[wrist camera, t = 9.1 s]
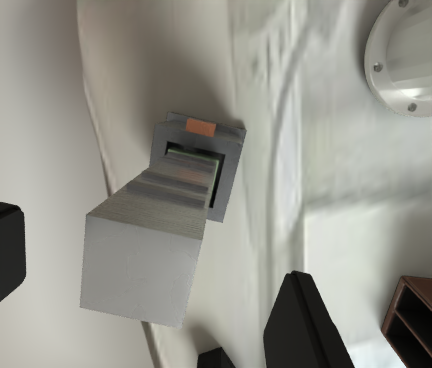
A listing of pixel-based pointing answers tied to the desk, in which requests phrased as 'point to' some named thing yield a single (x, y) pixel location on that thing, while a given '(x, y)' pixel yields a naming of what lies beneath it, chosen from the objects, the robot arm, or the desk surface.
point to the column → (149, 240)
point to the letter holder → (411, 322)
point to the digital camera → (214, 359)
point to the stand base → (203, 151)
